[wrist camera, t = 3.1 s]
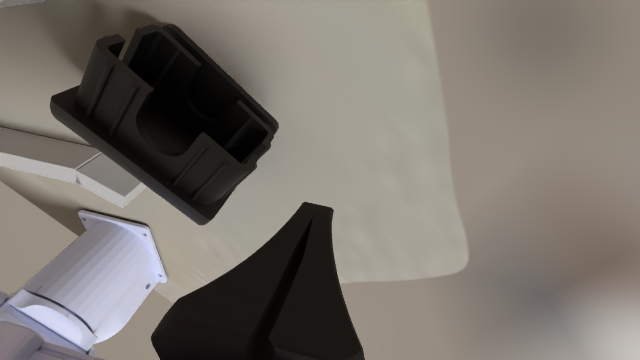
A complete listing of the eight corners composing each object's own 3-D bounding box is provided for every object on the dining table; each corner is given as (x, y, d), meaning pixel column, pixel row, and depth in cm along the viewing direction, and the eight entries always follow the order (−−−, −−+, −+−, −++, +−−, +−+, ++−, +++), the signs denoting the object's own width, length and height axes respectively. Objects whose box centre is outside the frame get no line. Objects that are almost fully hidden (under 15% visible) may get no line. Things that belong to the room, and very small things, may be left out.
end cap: (125, 90, 22) (37, 133, 17) (164, 13, 18) (65, 36, 13) (234, 180, 25) (188, 241, 19) (287, 130, 21) (248, 189, 16)
